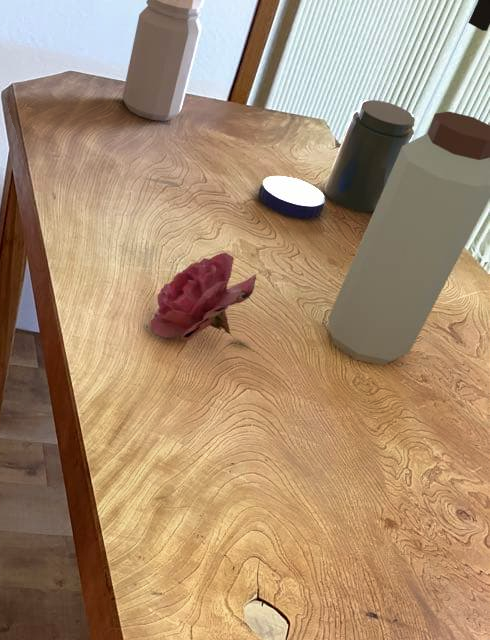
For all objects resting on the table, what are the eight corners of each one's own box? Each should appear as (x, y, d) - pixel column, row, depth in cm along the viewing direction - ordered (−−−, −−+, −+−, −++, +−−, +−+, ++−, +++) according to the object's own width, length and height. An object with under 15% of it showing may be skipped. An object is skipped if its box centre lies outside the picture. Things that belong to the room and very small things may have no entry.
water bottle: (307, 320, 105) (398, 100, 88) (377, 320, 109) (478, 108, 91) (348, 370, 99) (455, 144, 82) (421, 368, 102) (539, 151, 85)
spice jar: (392, 213, 133) (430, 129, 124) (339, 210, 131) (374, 124, 122) (366, 184, 139) (401, 101, 130) (314, 180, 136) (346, 95, 127)
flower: (138, 363, 98) (125, 269, 95) (198, 348, 104) (186, 259, 102) (218, 357, 90) (205, 253, 87) (278, 341, 96) (268, 244, 93)
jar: (191, 122, 145) (223, -2, 132) (141, 123, 140) (170, -5, 127) (158, 97, 150) (186, -24, 137) (109, 98, 145) (134, -28, 133)
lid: (246, 188, 130) (251, 175, 129) (299, 188, 133) (303, 176, 132) (279, 219, 124) (283, 206, 123) (332, 218, 128) (337, 206, 127)
